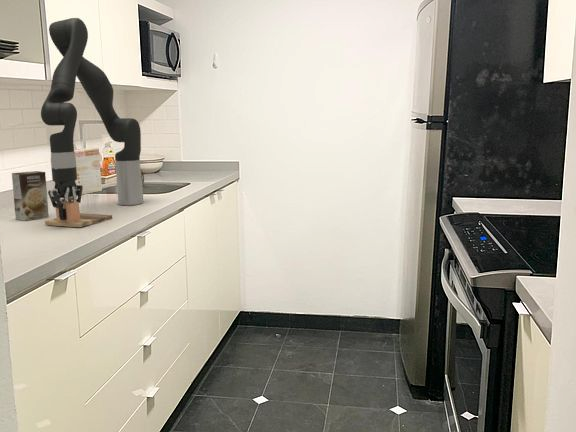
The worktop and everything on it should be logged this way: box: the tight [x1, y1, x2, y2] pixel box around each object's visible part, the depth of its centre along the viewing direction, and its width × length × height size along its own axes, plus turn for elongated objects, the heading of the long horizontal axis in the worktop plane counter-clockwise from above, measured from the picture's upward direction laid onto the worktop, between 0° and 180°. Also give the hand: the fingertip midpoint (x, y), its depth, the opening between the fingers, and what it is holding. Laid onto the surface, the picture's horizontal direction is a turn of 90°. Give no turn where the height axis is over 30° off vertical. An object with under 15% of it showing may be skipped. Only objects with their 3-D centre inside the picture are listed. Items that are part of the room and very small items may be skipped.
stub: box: [44, 201, 94, 228], centre depth 192 cm, size 6×14×7 cm, turn 70°
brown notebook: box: [80, 212, 113, 225], centre depth 200 cm, size 10×14×1 cm
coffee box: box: [11, 170, 50, 222], centre depth 204 cm, size 9×6×16 cm
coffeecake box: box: [74, 147, 103, 195], centre depth 262 cm, size 15×7×20 cm, turn 152°
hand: (68, 218), depth 192 cm, fingers closed on stub, 4 cm apart
